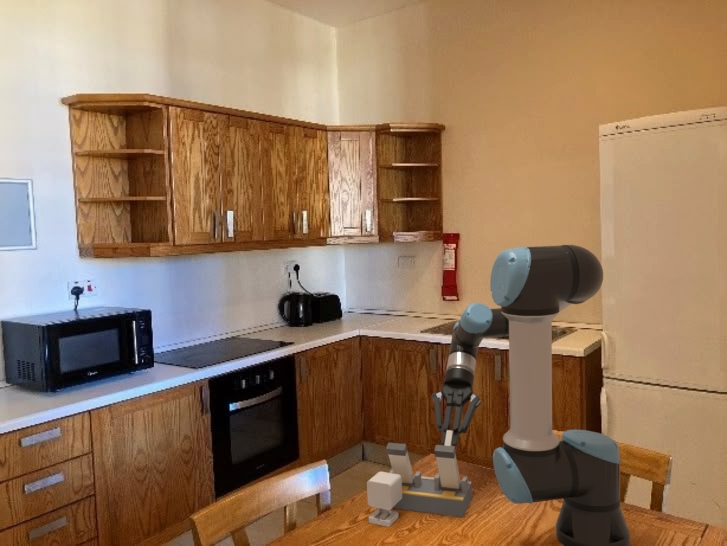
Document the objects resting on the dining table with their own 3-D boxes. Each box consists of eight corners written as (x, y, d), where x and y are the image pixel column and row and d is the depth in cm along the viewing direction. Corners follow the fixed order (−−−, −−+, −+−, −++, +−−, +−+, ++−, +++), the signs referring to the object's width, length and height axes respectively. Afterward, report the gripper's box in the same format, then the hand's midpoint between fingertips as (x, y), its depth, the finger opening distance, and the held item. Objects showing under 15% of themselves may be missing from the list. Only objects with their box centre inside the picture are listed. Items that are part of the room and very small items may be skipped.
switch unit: (472, 497, 160) (471, 470, 159) (463, 517, 149) (462, 488, 149) (397, 488, 167) (396, 462, 166) (384, 507, 157) (382, 479, 156)
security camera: (403, 514, 152) (401, 474, 152) (390, 527, 146) (388, 486, 145) (379, 509, 155) (378, 470, 155) (366, 522, 149) (364, 481, 148)
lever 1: (416, 480, 160) (407, 444, 153) (414, 486, 159) (405, 450, 152) (396, 478, 162) (387, 442, 155) (394, 484, 160) (384, 448, 154)
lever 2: (462, 485, 156) (455, 446, 150) (461, 492, 154) (454, 452, 148) (442, 483, 158) (434, 444, 151) (440, 489, 156) (433, 450, 150)
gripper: (486, 381, 168) (475, 466, 154) (439, 379, 172) (424, 460, 158) (482, 367, 162) (470, 453, 148) (433, 364, 167) (417, 448, 153)
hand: (446, 457), depth 153 cm, fingers closed
